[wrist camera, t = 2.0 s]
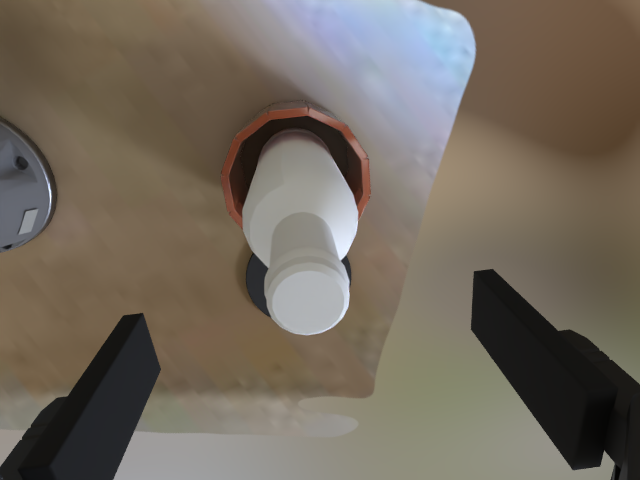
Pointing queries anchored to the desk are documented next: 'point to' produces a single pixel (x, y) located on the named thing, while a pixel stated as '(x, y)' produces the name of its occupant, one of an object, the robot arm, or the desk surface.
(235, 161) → the reddish brown pot
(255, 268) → the coaster
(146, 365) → the robot arm
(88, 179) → the desk surface
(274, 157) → the bottle
